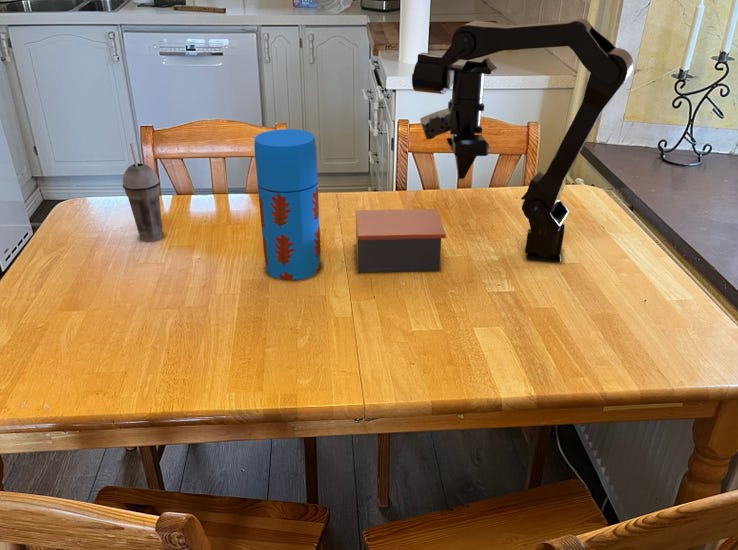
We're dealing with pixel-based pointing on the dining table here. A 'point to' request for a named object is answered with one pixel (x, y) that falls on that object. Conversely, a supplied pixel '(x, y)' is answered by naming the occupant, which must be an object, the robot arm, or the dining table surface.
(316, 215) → the thermos
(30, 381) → the dining table surface
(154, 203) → the beverage cup
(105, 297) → the dining table surface
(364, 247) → the box
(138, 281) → the dining table surface
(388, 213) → the lid
